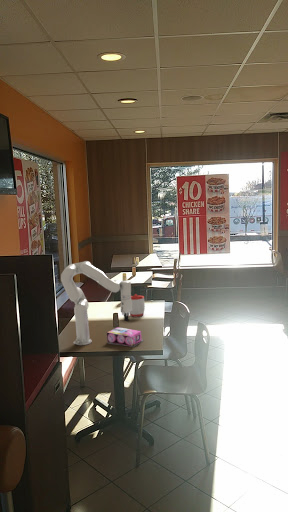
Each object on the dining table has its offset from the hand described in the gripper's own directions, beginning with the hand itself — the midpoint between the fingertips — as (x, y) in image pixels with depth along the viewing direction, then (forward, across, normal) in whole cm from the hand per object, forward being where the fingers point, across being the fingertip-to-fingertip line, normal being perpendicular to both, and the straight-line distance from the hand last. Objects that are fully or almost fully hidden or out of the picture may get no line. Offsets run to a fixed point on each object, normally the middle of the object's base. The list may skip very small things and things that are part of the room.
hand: (126, 320), depth 325 cm
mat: (+15, -4, -1) cm, 16 cm away
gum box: (+11, +2, -1) cm, 11 cm away
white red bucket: (+15, +64, +28) cm, 71 cm away
